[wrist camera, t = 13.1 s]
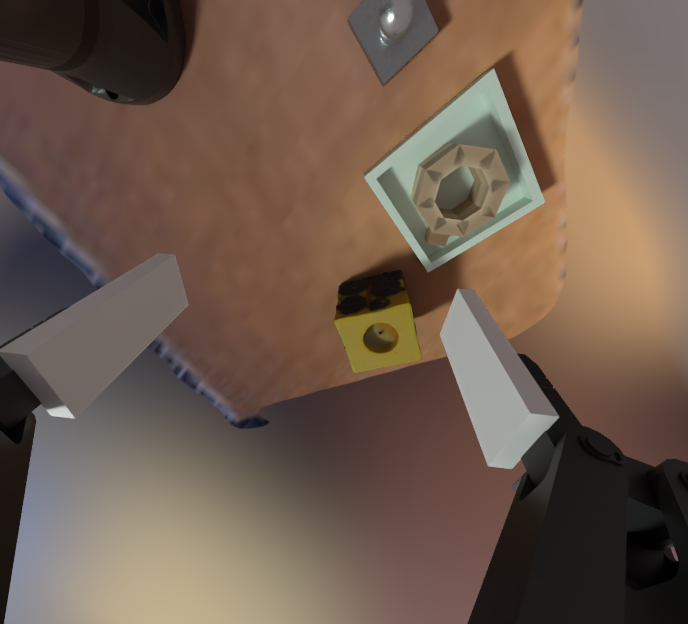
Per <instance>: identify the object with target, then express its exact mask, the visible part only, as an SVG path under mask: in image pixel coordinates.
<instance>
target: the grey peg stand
mask: <svg viewBox="0 0 688 624" xmlns="http://www.w3.org/2000/svg"><path fill="white" fill-rule="evenodd" d="M348 24H349V26H350V28H351V30H352V32H353V34H354V35H355V37H356V39H357V41H358V43H359V44H360V46H361V48H362V50H363V52H364V53H365V55H366V57H367V59H368V61H369V62H370V64H371V66H372V68H373V70H374V71H375V73H376V75H377V77H378V79H379V80H380V82H381V84H382V86H384V85H385V84H386V83H388V82H389V81H390V80H391V79H392V78H393V77H394V76H395V75H396V74H397V73H398V72H399V71H400V70H401V69H402V68H403V67H404V66H405V65H406V64H407V63H408V62H409V61H410V60H411V59H412V58H413V57H414V56H415V55H417V54H418V53H419V52H420V51H421V50H422V49H423V48H424V47H425V46H426V45H427V44H428V43H429V42H430V41H431V40H432V39H433V38H434V37H435V36H436V34H437V33H438V32H439V30H438V28H437V26H436V23H435V21H434V19H433V16H432V14H431V12H430V10H429V7H428V5H427V3H426V0H363V1H362V2H361V3H360V4H359V5H358V6H357V7H356V9H355V10H354V11H353V12H352V13H351V14H350V16H349V17H348Z"/></svg>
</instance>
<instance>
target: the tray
mask: <svg viewBox="0 0 688 624" xmlns="http://www.w3.org/2000/svg"><path fill="white" fill-rule="evenodd" d="M445 143H455V144H463V145H470V146H477V147H484V148H491V149H496V150H497V152H498V154H499V157H500V159H501V161H502V164H503V166H504V168H505V171H506V173H507V175H508V178H509V180H510V183H509V186H508V188H507V190H506V193H505V195H504V197H503V200H502V202H501V205H500V207H499V209H498V212H497V214H496V216H495V218H493V219H492V220H490V221H489V222H487V223H485V224H484V225H482V226H481V227H479V228H477V229H476V230H474V231H473V232H471V233H469V234H468V235H466V236H465V237H460V236H452V235H449V238H448V241H447V244H446V246H440V245H433V244H427V242H426V240H425V235H426V232H427V228H428V225H427V224H426V222H425V220H424V219H423V217H422V216H421V214H420V212H419V211H418V209H417V207H416V206H415V204H414V203H413V201H412V199H411V198H410V197H411V193H412V189H413V184H414V180H415V176H416V172H417V168H418V165H419V164H420V163H421V162H422V161H424V160H425V159H426V158H428V157H429V156H430V155H431V154H433V153H434V152H435V151H436V150H438V149H439V148H440V147H442V146H443V145H444V144H445ZM364 178H365V180H366V181H367V183H368V184H369V185H370V187H371V188H372V190H373V191H374V193H375V194H376V196H377V197H378V199H379V200H380V202H381V203H382V205H383V206H384V208H385V209H386V211H387V212H388V214H389V215H390V217H391V218H392V220H393V221H394V223H395V224H396V226H397V227H398V229H399V230H400V232H401V233H402V235H403V236H404V237H405V239H406V240H407V242H408V243H409V245H410V246H411V248H412V249H413V251H414V252H415V254H416V255H417V257H418V258H419V260H420V261H421V263H422V264H423V266H424V267H425V269H426V270H427V272H428V273H429V272H430V271H432V270H434V269H435V268H437V267H439V266H440V265H442V264H444V263H445V262H447V261H449V260H450V259H452V258H454V257H455V256H457V255H459V254H460V253H462V252H464V251H465V250H467V249H469V248H470V247H472V246H474V245H475V244H477V243H479V242H480V241H482V240H484V239H485V238H487V237H489V236H490V235H492V234H494V233H495V232H497V231H499V230H500V229H502V228H504V227H505V226H507V225H509V224H510V223H512V222H514V221H515V220H517V219H519V218H520V217H522V216H523V215H525V214H527V213H528V212H530V211H532V210H533V209H535V208H537V207H538V206H540V205H542V204H543V203H545V200H544V198H543V195H542V193H541V190H540V187H539V185H538V182H537V180H536V177H535V174H534V172H533V169H532V166H531V164H530V161H529V159H528V156H527V153H526V151H525V148H524V146H523V143H522V140H521V138H520V135H519V132H518V130H517V127H516V125H515V122H514V119H513V117H512V114H511V111H510V109H509V106H508V104H507V101H506V98H505V96H504V93H503V91H502V88H501V85H500V83H499V80H498V77H497V75H496V72H495V70H494V68H493V69H491V70H489V71H487V72H485V73H483V74H482V75H480V76H479V77H478V78H477V79H476V80H475V81H473V82H472V83H471V84H470V85H469V86H467V87H466V88H465V89H464V90H463V91H461V92H460V93H459V94H458V95H457V96H456V97H454V98H453V99H452V100H451V101H450V102H448V103H447V104H446V105H445V106H444V107H443V108H441V109H440V110H439V111H438V112H437V113H435V114H434V115H433V116H432V117H431V118H430V119H428V120H427V121H426V122H425V123H424V124H422V125H421V126H420V127H419V128H418V129H417V130H415V131H414V132H413V133H412V134H411V135H409V136H408V137H407V138H406V139H405V140H403V141H402V142H401V143H400V144H399V145H398V146H396V147H395V148H394V149H393V150H392V151H390V152H389V153H388V154H387V155H386V156H385V157H383V158H382V159H381V160H380V161H379V162H377V163H376V164H375V165H374V166H373V167H372V168H370V169H369V170H368V171H367V172H366V173H364ZM473 182H474V179H473V177H472V175H471V173H470V171H469V169H468V167H465V166H460V167H458V168H457V169H455V170H454V171H453V172H451V173H450V174H449V175H447V176H446V177H445V178H443V179H442V180H441V182H440V185H439V189H438V192H437V196H436V199H435V203H436V205H437V207H438V208H442V209H449V210H452V209H453V208H455V207H456V206H458V205H459V204H461V203H462V202H464V201H465V200H467V199H468V196H469V193H470V190H471V187H472V184H473Z"/></svg>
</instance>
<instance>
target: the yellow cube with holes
mask: <svg viewBox="0 0 688 624" xmlns="http://www.w3.org/2000/svg"><path fill="white" fill-rule="evenodd" d="M337 296H338V304H337V306H336V316H335V319H334V322H335V326H336V328H337V330H338V332H339V333H340V335H341V337H342V341H343V343H344V348H345V349H346V351H347V354H348V357H349V360H350V364H351V366H352V369H353V372H354V373H358V372H363V371H368V370H373V369H377V368H382V367H387V366H392V365H397V364H403V363H409V362H414V361H419V360H422V356H421V351H420V346H419V343H418V340H417V332H416V326H415V322H414V318H413V312H412V307H411V303H410V300H409V298H408V292H407V291H406V287H405V281H404V276H403V273H402V271H400V270H398V271H392V272H390V273H387V272H386V273H383V274H382V275H376V276H373V277H368V278H363V279H361V280H358V281H353V282H349V283H346V284H341V285H340V286H339V290H338V295H337Z"/></svg>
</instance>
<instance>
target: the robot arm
mask: <svg viewBox="0 0 688 624" xmlns="http://www.w3.org/2000/svg"><path fill="white" fill-rule="evenodd" d="M184 48H185V37H184V25H183V18H182V13H181V8H180V4H179V0H0V61H5V62H10V63H15V64H21V65H26V66H31V67H36V68H42V69H47V70H51V71H52V72H54V73H56V74H58V75H59V76H61V77H63V78H65V79H66V80H68V81H70V82H72V83H74V84H75V85H77V86H79V87H81V88H82V89H84V90H86V91H88V92H90V93H91V94H93V95H95V96H98V97H100V98H102V99H105V100H108V101H111V102H116V103H121V104H130V105H147V104H151V103H154V102H157V101H159V100H160V99H162V98H163V97H165V96H166V95H167V94H168V93H169V92H170V91H171V89H172V88H173V87H174V85H175V83H176V81H177V79H178V77H179V74H180V72H181V68H182V64H183V58H184ZM187 306H188V301H187V297H186V293H185V290H184V286H183V282H182V279H181V275H180V271H179V268H178V264H177V260H176V257H175V255H170V254H161V253H158V254H156V255H155V256H153V257H151V258H150V259H148V260H146V261H145V262H143V263H141V264H140V265H138V266H136V267H135V268H133V269H132V270H130V271H128V272H127V273H125V274H123V275H122V276H120V277H118V278H117V279H115V280H113V281H112V282H110V283H108V284H107V285H105V286H103V287H102V288H100V289H98V290H97V291H95V292H94V293H92V294H90V295H89V296H87V297H85V298H84V299H82V300H80V301H79V302H77V303H75V304H74V305H72V306H70V307H67V308H65V309H62V310H60V311H58V312H56V313H55V314H53V315H51V316H50V317H48V318H46V320H45V321H41V322H40V323H38V324H36V325H35V326H33V328H32V329H28V330H26V331H25V332H23V333H21V334H20V335H18V336H16V337H15V338H13V339H11V340H9V341H8V342H7V343H4V344H3V345H1V346H0V624H4V619H5V613H6V606H7V600H8V594H9V588H10V581H11V575H12V568H13V563H14V556H15V550H16V543H17V538H18V531H19V525H20V519H21V513H22V506H23V500H24V494H25V487H26V481H27V475H28V469H29V462H30V456H31V450H32V444H33V437H34V431H35V424H36V419H35V415H34V414H33V413H32V411H33V410H34V409H35V408H37V407H38V406H39V405H40V404H42V406H43V407H44V408H45V409H46V410H47V411H48V413H49V414H50V415H51V416H57V417H66V418H74V419H75V418H77V416H78V415H80V414H81V412H82V411H84V410H85V409H86V408H87V406H88V405H90V404H91V403H92V402H93V401H94V400H95V399H96V398H97V397H98V396H99V395H100V394H101V393H102V391H103V390H104V389H105V388H106V387H107V386H108V385H109V384H110V383H111V382H112V381H113V380H114V379H115V378H116V377H117V376H118V375H119V374H120V373H121V372H122V371H123V370H124V369H125V368H126V367H127V366H128V365H129V364H130V363H131V362H132V361H133V360H134V359H135V358H136V357H137V356H138V355H139V354H140V353H141V352H142V351H143V350H144V349H145V348H146V347H147V346H148V345H149V344H150V343H151V342H152V341H153V340H154V339H155V338H156V337H157V336H158V335H159V334H160V333H161V332H162V331H163V330H164V329H165V328H166V327H167V326H168V325H169V324H170V323H171V322H172V321H173V320H174V319H175V318H176V317H177V316H178V315H179V314H180V313H181V312H182V311H183V310H184V309H185V308H186V307H187ZM440 336H441V339H442V342H443V345H444V347H445V350H446V353H447V356H448V358H449V361H450V364H451V367H452V369H453V372H454V375H455V377H456V380H457V383H458V386H459V388H460V391H461V394H462V397H463V399H464V402H465V405H466V408H467V410H468V413H469V415H470V418H471V421H472V424H473V427H474V429H475V432H476V435H477V437H478V440H479V443H480V446H481V449H482V451H483V454H484V457H485V459H486V462H487V465H488V466H491V467H499V468H508V469H512V468H513V467H514V466H515V465H516V464H517V463H518V462H519V461H520V460H522V462H523V464H524V466H525V468H526V470H527V471H526V472H525V473H524V474H523V476H521V477H520V479H519V480H517V481H516V482H515V483H514V485H513V486H512V487H511V489H513V490H514V491H515V490H516V488H517V491H516V494H515V497H514V499H513V502H512V505H511V507H510V510H509V513H508V516H507V518H506V521H505V524H504V527H503V529H502V532H501V535H500V537H499V540H498V543H497V545H496V548H495V551H494V553H493V556H492V559H491V562H490V564H489V567H488V570H487V572H486V575H485V578H484V580H483V583H482V586H481V589H480V592H479V594H478V597H477V599H476V602H475V605H474V608H473V610H472V613H471V616H470V619H469V621H468V624H688V463H687V462H683V461H680V460H676V459H666V460H665V461H663V462H662V463H661V464H659V465H657V466H656V467H653V466H651V465H648V464H645V463H643V462H640V461H637V460H635V459H632V458H629V457H626V456H624V455H623V453H622V452H621V450H620V449H619V448H618V447H617V446H616V445H615V444H614V443H613V442H612V441H611V440H610V439H608V438H607V437H605V436H604V435H602V434H601V433H599V432H597V431H595V430H593V429H590V428H588V427H585V426H582V425H581V424H580V422H579V421H578V420H577V418H576V417H575V416H574V414H573V413H572V411H571V410H570V409H569V407H568V406H567V405H566V404H565V402H564V400H563V399H562V398H561V396H560V395H559V394H558V392H557V391H556V390H555V389H553V385H552V384H551V383H550V381H549V380H548V379H546V376H545V375H544V373H543V372H542V370H541V369H540V368H539V366H538V365H537V364H536V363H535V362H533V361H532V360H531V359H530V358H528V357H527V356H526V355H525V354H517V353H516V352H515V350H514V349H513V347H512V346H511V344H510V343H509V341H508V340H507V338H506V337H505V335H504V334H503V332H502V331H501V330H500V328H499V327H498V325H497V324H496V322H495V321H494V319H493V318H492V316H491V315H490V313H489V312H488V310H487V309H486V307H485V306H484V304H483V303H482V301H481V300H480V299H479V297H478V296H477V294H476V293H475V291H474V290H466V289H457V291H456V294H455V296H454V299H453V302H452V304H451V307H450V309H449V312H448V315H447V317H446V320H445V322H444V325H443V327H442V330H441V333H440ZM673 546H674V548H675V551H676V553H677V556H678V561H676V560H675V558H674V556H673V554H672V551H671V548H670V547H673Z"/></svg>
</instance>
